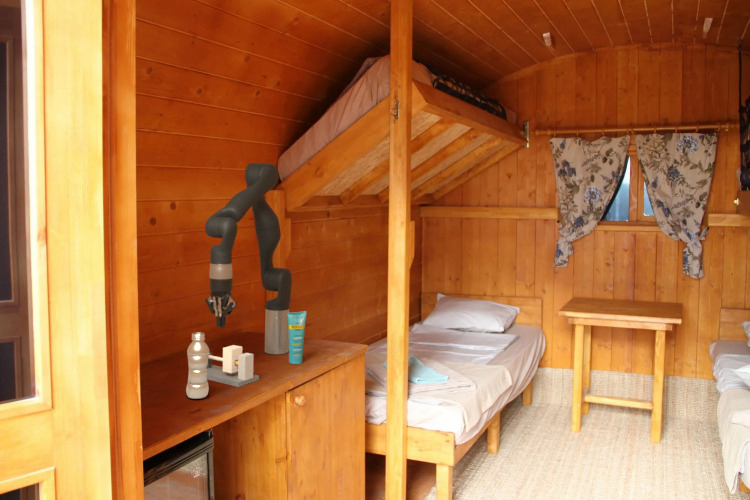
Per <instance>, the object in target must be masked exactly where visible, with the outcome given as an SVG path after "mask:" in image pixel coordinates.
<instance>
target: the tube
mask: <svg viewBox="0 0 750 500" xmlns="http://www.w3.org/2000/svg"><path fill="white" fill-rule="evenodd" d="M307 313H308V312H307V310H304V311H297V312H289V313H288V327H289V351H288V363H289V364H290V365H291V364H292V365H300V364H302V363H303V355H304V342H305V330H306V329H305V328H306V321H307Z"/></svg>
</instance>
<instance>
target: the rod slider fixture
mask: <svg viewBox="0 0 750 500" xmlns="http://www.w3.org/2000/svg"><path fill="white" fill-rule="evenodd" d="M213 360H214V361H218V362H222V363H223V357H220V356H215V355H213V353H212V352H209V357H208V364H207V381H208V380H209V381H212V382H216V383H217V382H218V383H220V384H225V385H230V386H233V387H237V388H241V387H243V386H246V385H248V383H249V384H252V383H254V381H255V382H258V381H259V380H260V375H257V374H254V353H250V352H244V353H242V354H240V355H238V361H235V365H238V372H234V373H228V372H223V366H218V365H216V364H215V365H214V364H212V363H213ZM257 380H258V381H257ZM251 382H252V383H251ZM245 384H246V385H245Z"/></svg>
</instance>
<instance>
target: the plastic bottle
mask: <svg viewBox="0 0 750 500" xmlns="http://www.w3.org/2000/svg"><path fill="white" fill-rule="evenodd" d="M205 335H206V334H205V332H201V331H199V332H197V331H196V332H192V333H191V340H192V342H190V344H189V346H188V347H187V350H186V352H187V353H186V355H187V363H188V375H187V376H188V377H187V384H186V389H185V392H186V393H185V394H186V395H187V397H188V398H189V399H193V400H194V399H195V400H196V399H204V398H206V397H207V396H208V394H209V389H210V388H209V386H210V385H209V381H208V379H207V364H208V357H209V353H210V348H209V346H208V344H207V343H206V342H205V340H206V337H205Z"/></svg>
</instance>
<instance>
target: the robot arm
mask: <svg viewBox="0 0 750 500" xmlns="http://www.w3.org/2000/svg"><path fill="white" fill-rule="evenodd" d="M244 179H245V185H246V188H244V189H243V190H240V191H239V192H237V193H236V194H234V195H233V197H231V198H230V200H229V201H228V202H227V203H226V204H225V206H223V207H222V208H220V209H218V210H217V211H216V212H214V213H213V214H211V215H210V216H209V217H208V219H207V220H206V222H205V226H204V231H205V233H206V235H207V236H208V237H210V238H214V239H222V240H221V241H220V243H219V244H216V245H213V246H211V247H210V251H209V252H210V253H209V254H210V255H209V257H210V259H209V260H210V261H209V262H210V265H209V291H210V295H209V297H207V298H205V299H204V301H205V303H206V305H207V307H208V308H209V311H210V313H211V314H212V315H215V317H216V322H215V323H216V327H217V328H219V329H223V328H225V327H226V317H227V316H230V315H231V314H232V313H233V311H234V309H235V308H236V306H238V301H234V300H233V296H232V290H233V274H234V273H233V263H232V262H233V260H232V258H233V248H234V244H235V241H236V238H237V235H238V223H239V222H240V221H241V220H242V219H243V218H244V217H245V215H246V213H247V212H249V210H250V209H251V210H252V214H253V220H254V221H253V222H254V230H255V236H256V240H257V247H258V253H259V265H260V280H261V285H262V287H263V288H264V290H265V291H267V292H269V291H270V292H277V295H276V297H275V298H272V299H269V300H266V302H265V315H264V316H265V317H264V318H265V322H264V325H265V326H264V353H266V354H270V355H284V354H287V353H289V327H288V313H290V304H291V299H292V298H291V296H292V285H293V284H292V283H293V282H292V281H293V277H292V272H291V270H290V269H289V268H282V267H274V261H273V257H274V256H273V255H274V254H275V251H276V249H277V247H278V244H279V243H280V240H281V237H282V236H281V235H282V234H281V232H282V231H281V224H280V220H279V217H278V216H277V214H276V212H275V211H274V210H273V209H272V207H271V206H270V205H269V203H268V202H267V200H266V198H265V195H266V194H267V193H269V192H270V191H271V190H272V189H273V188H274V187H275V186H276V185H277V183H278V180H279V170H278V167H276V165H275V164H273V163H267V162H263V163H262V162H251V163H248V164H247V165H246V167H245V169H244Z"/></svg>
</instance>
